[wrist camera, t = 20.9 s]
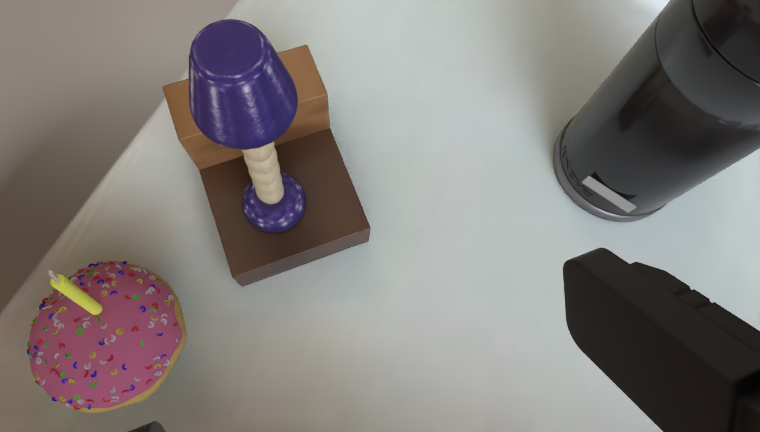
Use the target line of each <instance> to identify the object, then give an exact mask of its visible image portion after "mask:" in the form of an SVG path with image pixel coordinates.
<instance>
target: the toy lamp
mask: <svg viewBox="0 0 760 432" xmlns="http://www.w3.org/2000/svg"><path fill="white" fill-rule="evenodd" d="M297 106H298V98H297V91H296V87H295V84H294V82H293V79H292V77H291V75H290V74H289V72H288V70H287V69H286V67H285V66H284V64H283V62H282V61H281V59H280V57H279V56H278V54H277V53H276V51H275V50H274V48H273V46H272V45H271V43H270V42H269V40H268V39H267V38H266V36H265V35H264V34H263V33H262V32H261V31H260V30H259V29H257V28H256V27H255V26H253V25H251V24H249V23H247V22H244V21H240V20H232V19H228V20H221V21H217V22H214V23H212V24H209V25H208V26H206V27H205V28H203V29H202V30H201V31H200V32H199V33H198V34H197V36H196V37H195V39H194V40H193V42H192V45H191V49H190V55H189V107H190V111H191V115H192V117H193V120H194V122H195V123H196V125H197V127H198V128H199V129H200V131H201V132H202V133H203V134H204V135H205V136H206V137H207V138H209V139H210V140H211V141H213V142H215V143H217V144H218V145H221V146H224V147H227V148H231V149H240V150H242V152H243V154H244V160H245V163H246V164H247V166H248V171H249V174H250V176H251V178H252V181H251V182H250V183H249V184H248V185H247V187H246V189H245V191H244V194H243V198H242V207H243V212H244V215H245V217H246V218H247V220H248V221H249V222H250V223H251V224H252V225H253V226H254V227H256V228H258V229H260V230H262V231H266V232H271V233H277V232H282V231H285V230H287V229H289V228H291V227H293V226H294V225H296V224H297V223H298V222H299V220H300V219H301V217H302V216H303V214H304V212H305V208H306V195H305V192H304V190H303V188H302V186H301V185H300V184H299V183H298V182H297V180H295V179H294V178H293V177H291V176H289V175H288V174H285V173H282V172H280V166H279V163H278V161H277V152H276V150H275V148H274V141H275V140H276V139H278V138H280V137H281V136H282V135H283V134H284V133H285V132H286V131H287V130H288V129H289V127H290V125H291V124H292V122H293V120H294V118H295V115H296V111H297Z"/></svg>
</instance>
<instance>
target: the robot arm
mask: <svg viewBox="0 0 760 432" xmlns="http://www.w3.org/2000/svg"><path fill="white" fill-rule="evenodd" d="M759 148H760V0H670V1H669V2H668V4H667V5H666V6H665V7H664V9H663V10H662V11H661V12H660V13H659V15H658V16H657V17H656V18H655V20H654V21H653V22H652V23H651V24H650V26H649V27H648V28H647V29H646V31H645V32H644V33H643V34H642V35H641V37H640V38H639V39H638V40H637V42H636V43H635V44H634V45H633V46H632V48H631V49H630V50H629V51H628V53H627V54H626V55H625V56H624V57H623V59H622V60H621V61H620V62H619V64H618V65H617V66H616V67H615V68H614V70H613V71H612V72H611V73H610V75H609V76H608V77H607V78H606V79H605V81H604V82H603V83H602V84H601V86H600V87H599V88H598V89H597V91H596V92H595V93H594V94H593V95H592V97H591V98H590V99H589V100H588V102H587V103H586V104H585V105H584V106H583V107H582V109H581V110H580V111H579V112H578V114H577V115H576V116H575V117H573V118H572V119H571V120H570V121H569V122H568V124H567V125H566V126H565V127H564V129H563V130H562V131H561V133H560V135H559V136H558V139H557V141H556V144H555V148H554V166H555V171H556V174H557V177H558V179H559V182H560V184H561V185H562V187H563V189H564V190H565V192H566V193H567V194H568V195H569V197H570V198H571V199H572V200H573V201H574V202H575V203H576V204H578V205H579V206H580V207H581V208H583V209H584V210H586V211H587V212H589V213H591V214H593V215H595V216H597V217H600V218H603V219H606V220H611V221H618V222H629V221H635V220H640V219H643V218H645V217H647V216H649V215H651V214H653V213H654V212H656V211H658V210H659V209H661V208H662V207H664V206H665V205H666V204H667V203H668V202H670V201H672V200H673V199H675V198H677V197H679V196H681V195H682V194H684V193H686V192H687V191H689V190H691V189H692V188H694V187H696V186H697V185H699V184H701V183H702V182H704V181H706V180H707V179H709V178H711V177H712V176H714V175H716V174H717V173H719V172H721V171H722V170H724V169H726V168H727V167H729V166H731V165H732V164H734V163H736V162H737V161H739V160H741V159H742V158H744V157H746V156H747V155H749V154H751V153H752V152H754V151H756V150H757V149H759ZM563 278H564V293H565V308H566V321H567V326H568V329H569V331H570V334H571V336H572V338H573V340H574V341H575V343H576V344H577V346H578V347H579V348H580V349H581V350H582V352H583V353H584V354H586V355H587V356H588V357H589V358H590V359H591V360H592V361H593V362H594V363H595V364H596V365H597V366H598V367H599V368H600V369H601V370H602V371H603V372H604V373H605V374H606V375H607V376H608V377H609V378H610V379H611V380H612V381H613V382H614V383H615V384H616V385H617V386H618V387H619V388H620V389H621V390H622V391H623V392H624V393H625V394H626V395H627V396H628V397H629V398H630V399H631V400H632V401H633V402H634V403H635V404H636V405H637V406H638V407H639V408H640V409H641V410H642V411H643V412H644V413H645V414H646V415H647V416H648V417H649V418H650V419H651V420H652V421H653V422H654V423H655V424H656V425H657V426H658V427H659V428H660V429H661V430H662V431H663V432H760V331H759V330H757V329H755V328H754V327H752V326H751V325H749V324H748V323H746V322H745V321H743V320H741V319H740V318H738V317H737V316H735V315H734V314H732V313H730V312H729V311H727V310H726V309H724V308H723V307H721V306H719V305H718V304H716V303H715V302H714V303H711V302H710V300H709V299H708V298H707V297H705V296H704V295H702V294H701V293H699V292H697V291H696V290H691V289H690V287H689V286H688V285H687V284H685V283H683V282H682V281H680V280H679V279H677V278H676V277H674V276H672V275H671V274H669V273H668V272H666V271H664V270H660V269H657V268H654V267H651V266H648V265H645V264H642V263H639V262H634V263H632V264H628V263H627V262H625V261H624V260H623V259H621V258H620V257H618V256H617V255H615V254H614V253H612V252H611V251H609V250H607V249H605V248H598V249H595V250H593V251H590V252H588V253H585V254H583V255H580V256H577V257H575V258H572V259H570V260H567V261H566V262H565V263H564V266H563ZM128 432H166V431H165V430H164V428H163V427H162V425H161V424H160V423H158V422H156V421H154V422H151V423H149V424H146V425H144V426H141V427H139V428H136V429H134V430H131V431H128Z"/></svg>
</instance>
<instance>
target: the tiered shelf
mask: <svg viewBox="0 0 760 432" xmlns="http://www.w3.org/2000/svg"><path fill="white" fill-rule="evenodd" d="M277 54H278V56H279V57H280V59H281V61H282V62H283V64H284V66H285V67H286V69H287V70H288V72H289V74H290V75H291V77H292V79H293V82H294V84H295V87H296V91H297V98H298V106H297V111H296V115H295V118H294V120H293V122H292V124H291V125H290V127H289V129H288V130H287V131H286V132H285V133H284V134H283V135H282V136H281V137H280V138H278V139H276V140H275V141H274V148H275V150H276V152H277V161H278V163H279V166H280V172H282V173H285V174H288V175H289V176H291V177H293V178H294V179H295V180H297V182H298V183H299V184H300V185H301V186H302V188H303V190H304V192H305V195H306V208H305V212H304V214H303V216H302V217H301V219H300V220H299V222H298V223H297V224H296V225H294V226H293V227H291V228H289V229H287V230H285V231H282V232H277V233H271V232H266V231H262V230H260V229H258V228H256V227H254V226H253V225H252V224H251V223H250V222H249V221H248V220H247V218H246V217H245V215H244V212H243V207H242V198H243V194H244V191H245V189H246V187H247V185H248V184H249V183H250V182H251V181H252V178H251V176H250V174H249V171H248V166H247V164H246V163H245V160H244V154H243V152H242V150H240V149H231V148H227V147H224V146H221V145H218V144H217V143H215V142H213V141H211V140H210V139H209V138H207V137H206V136H205V135H204V134H203V133H202V132H201V131H200V129H199V128H198V127H197V125H196V123H195V122H194V120H193V117H192V115H191V111H190V107H189V79H186V80H183V81H179V82H176V83H172V84H169V85H166V86H163V90H164V93H165V97H166V100H167V103H168V107H169V110H170V113H171V116H172V120H173V123H174V126H175V130H176V133H177V136H178V139H179V141H180V143H181V144H182V146H183V147H184V148H185V150H186V151H187V153H188V154H189V156H190V157H191V159H192V160H193V162H194V163H195V165H196V166H197V168H198V169H199V171H200V174H201V178H202V181H203V184H204V187H205V190H206V194H207V197H208V200H209V203H210V207H211V210H212V213H213V216H214V219H215V223H216V226H217V229H218V232H219V235H220V239H221V242H222V245H223V248H224V251H225V255H226V258H227V261H228V264H229V268H230V271H231V274H232V277H233V278H234V279H235V280H236V281H237V282H238V283H239V284H240V285H241V286H245V285H248V284H251V283H254V282H256V281H259V280H262V279H265V278H267V277H270V276H273V275H276V274H278V273H281V272H284V271H287V270H289V269H292V268H295V267H298V266H300V265H303V264H306V263H309V262H311V261H314V260H317V259H320V258H322V257H325V256H328V255H331V254H333V253H336V252H339V251H342V250H345V249H347V248H350V247H353V246H356V245H358V244H361V243H364V242H367V241H369V235H370V226H369V223H368V221H367V218H366V216H365V213H364V211H363V209H362V206H361V204H360V201H359V199H358V196H357V194H356V191H355V189H354V186H353V184H352V181H351V179H350V176H349V174H348V171H347V169H346V166H345V164H344V162H343V159H342V157H341V154H340V152H339V149H338V147H337V144H336V142H335V139H334V137H333V134H332V132H331V129H330V122H329V109H328V96H327V92H326V89H325V87H324V84H323V82H322V80H321V77H320V75H319V72H318V70H317V67H316V65H315V63H314V60H313V58H312V55H311V53H310V50H309V48H308V46H307V45H303V46H300V47H297V48H293V49H290V50H286V51H283V52H279V53H277Z"/></svg>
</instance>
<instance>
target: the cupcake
mask: <svg viewBox="0 0 760 432" xmlns="http://www.w3.org/2000/svg"><path fill="white" fill-rule="evenodd" d="M99 261H100V262H99ZM99 261H97V263H98V264H90V265H89V266H88V267H87V268H84V269H83V268H80V269H78V272H76V273H75V274H74V275H72V276H71V277H69V278H68V279H67V278H66V277H64V276H63V275H56V274H54V273H53V271H52V270H48V274H49V276H50V277H52V279H51V281H50V284H51V285H52V286H53V287H54V289H53V293H51V294H50V296H49V297H48V298H45V299H47V300H45V299H43V300H42V304H41V305H42V306H41V305H40V306H39V308H40V310H39V311H38V312H37V313H36V318H35V319H34V321H32V322H31V323H30V325H32V329H31V332H30V339H29V342H28V349H27V353H28V354H29V356H30V363H31V369H32V373H33V376H34V378H35V379H36V381H35V382H36V383H38V384H39V385H41V386H42V387H43V389H44V390H45V391H46V392H47V393H48V394H49V395H50V396H51V397H53V398H52V400H53V401H58V402H60V403H62V404H63V405H65V406H67V407H69V408H71V409H74V410H77V411H81V412H86V413H99V412H105V411H110V410H114V409H117V408H120V407H124V406H127V405H131V404H135V403H139V402H141V401H143V400H145V399H146V398H148V397H149V396H150V395H152V394H153V393H154V392H155V391H156V390H157V389H158V388H159V387H160V386H161V385H162V383H163V382H164V381H165V379H166V378H167V376H168V375H169V373H170V371H171V370H172V368H173V366H174V365H175V363H176V361H177V359H178V357H179V355H180V353H181V351H182V349H183V347H184V345H185V343H186V329H185V324H184V318H183V314H182V310H181V307H180V304H179V301H178V299H177V297H176V295H175V293H174V291H173V290H172V288H171V287H170V286H169V285H168V284H167V283H166V282H165V281H164V280H163V279H162V278H161V277H159V276H158V275H156V274H155V273H153V272H151V271H149V270H147V269H145V268H142V267H139V266H136V265H132V264H128V263H127V261H124V262H116V261H115V262H111V261H110V262H103V261H102V260H99ZM101 262H102V263H101ZM125 262H126V263H125ZM91 265H92V266H91ZM79 270H80V271H79ZM44 300H45V301H46V302H45V301H44Z"/></svg>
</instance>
